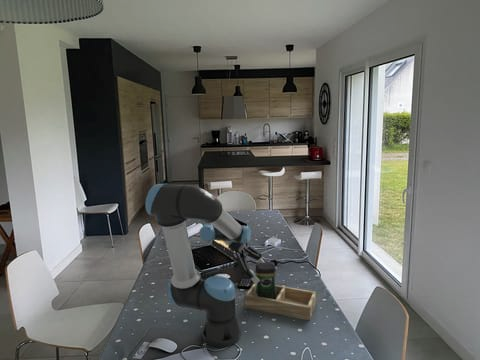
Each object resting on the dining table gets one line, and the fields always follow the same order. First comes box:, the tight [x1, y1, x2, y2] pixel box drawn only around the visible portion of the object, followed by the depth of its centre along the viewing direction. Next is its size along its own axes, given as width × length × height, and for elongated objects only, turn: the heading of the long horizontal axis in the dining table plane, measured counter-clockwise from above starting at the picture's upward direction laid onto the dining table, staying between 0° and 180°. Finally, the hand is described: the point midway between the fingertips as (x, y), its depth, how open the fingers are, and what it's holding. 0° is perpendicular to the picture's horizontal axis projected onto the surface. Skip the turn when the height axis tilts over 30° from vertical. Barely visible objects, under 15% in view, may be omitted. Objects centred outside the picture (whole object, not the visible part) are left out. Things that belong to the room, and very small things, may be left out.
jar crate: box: [244, 282, 317, 321], centre depth 164 cm, size 14×30×6 cm, turn 68°
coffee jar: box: [254, 261, 277, 300], centre depth 165 cm, size 10×8×19 cm
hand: (263, 276), depth 166 cm, fingers open, 13 cm apart
